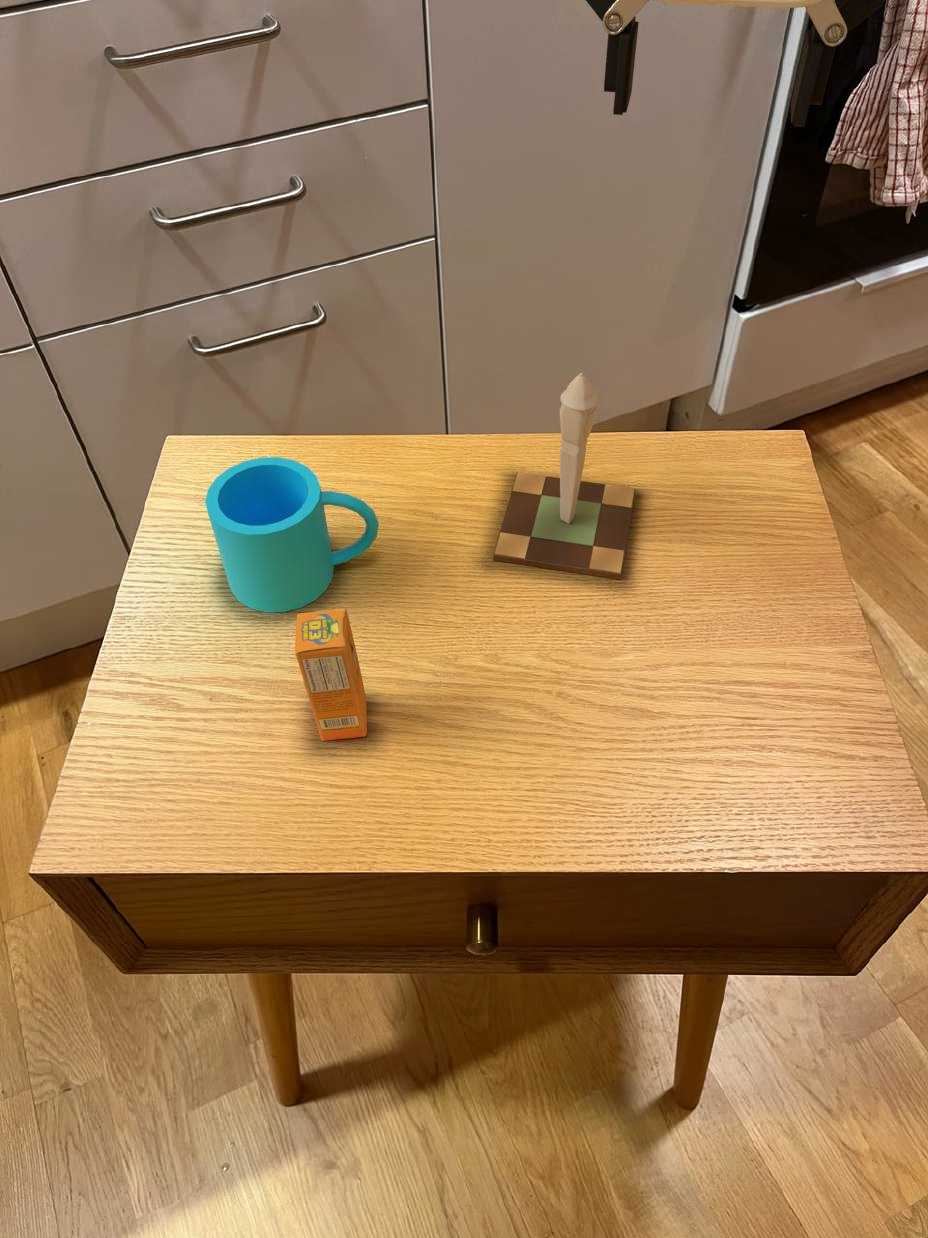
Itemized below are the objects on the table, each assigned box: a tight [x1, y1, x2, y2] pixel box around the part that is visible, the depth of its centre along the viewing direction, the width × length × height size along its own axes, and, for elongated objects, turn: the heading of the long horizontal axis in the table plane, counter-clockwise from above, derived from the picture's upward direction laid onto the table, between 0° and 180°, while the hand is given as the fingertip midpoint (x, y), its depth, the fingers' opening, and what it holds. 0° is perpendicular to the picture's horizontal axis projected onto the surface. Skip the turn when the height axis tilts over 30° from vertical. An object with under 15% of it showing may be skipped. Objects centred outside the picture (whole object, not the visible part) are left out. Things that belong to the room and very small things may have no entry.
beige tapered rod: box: [559, 372, 599, 524], centre depth 72 cm, size 2×3×14 cm
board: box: [492, 471, 636, 580], centre depth 77 cm, size 10×10×1 cm
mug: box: [204, 456, 380, 613], centre depth 72 cm, size 12×8×8 cm
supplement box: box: [294, 607, 368, 742], centre depth 62 cm, size 3×3×10 cm
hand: (708, 110), depth 54 cm, fingers open, 9 cm apart
